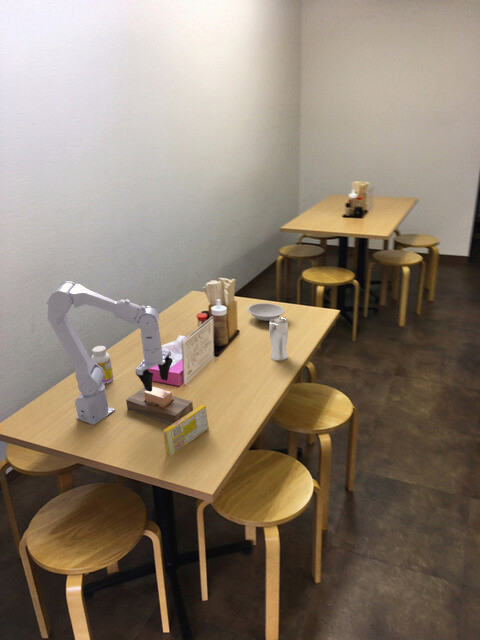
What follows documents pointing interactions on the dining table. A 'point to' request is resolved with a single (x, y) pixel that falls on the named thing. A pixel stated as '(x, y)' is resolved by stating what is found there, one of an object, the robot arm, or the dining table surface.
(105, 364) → the supplement bottle
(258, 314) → the dish
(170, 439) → the candy box
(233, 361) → the dining table surface
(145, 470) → the dining table surface
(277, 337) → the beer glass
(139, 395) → the slot base
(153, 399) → the peach arch block
